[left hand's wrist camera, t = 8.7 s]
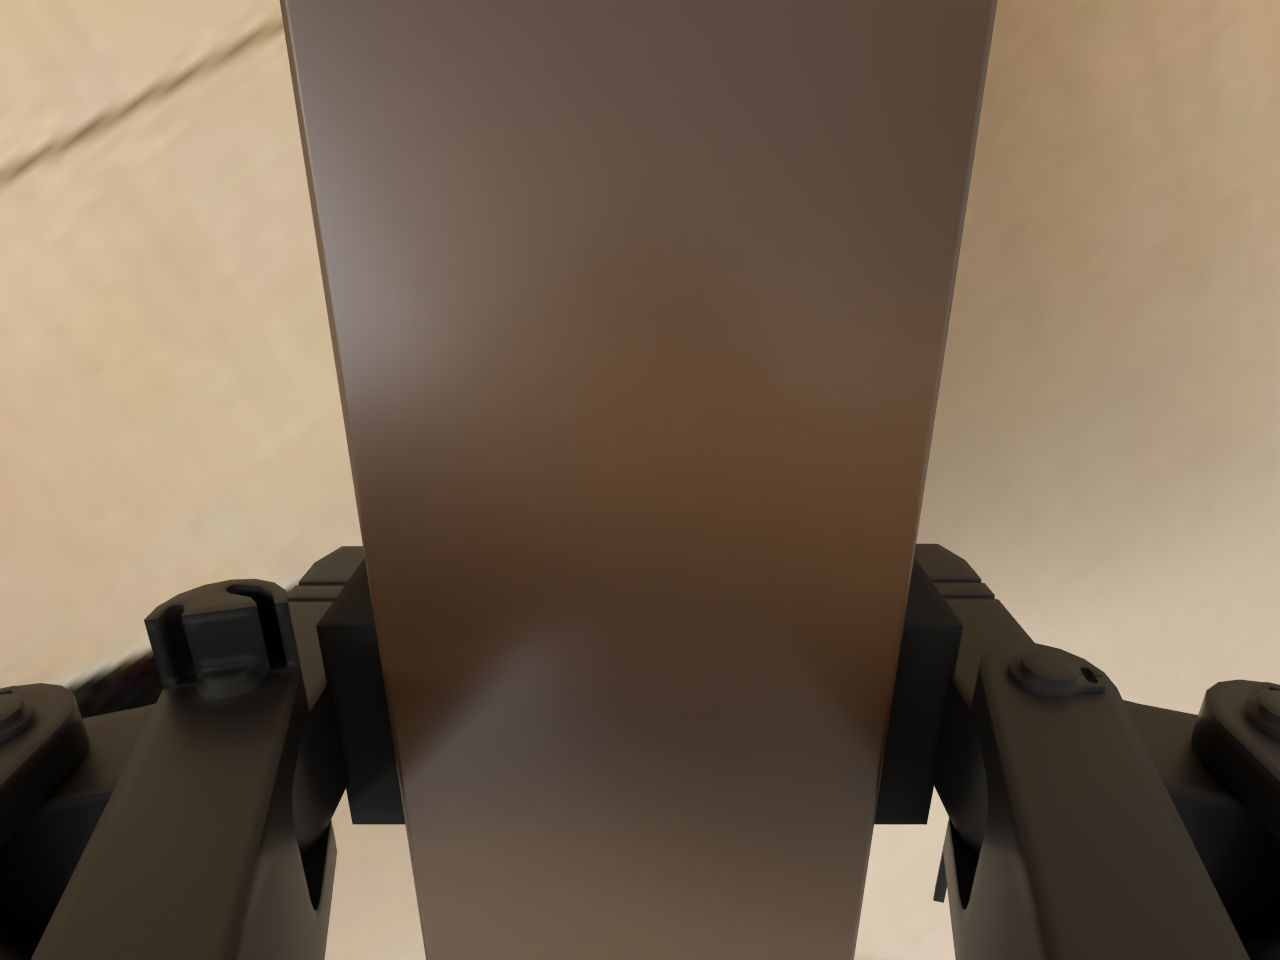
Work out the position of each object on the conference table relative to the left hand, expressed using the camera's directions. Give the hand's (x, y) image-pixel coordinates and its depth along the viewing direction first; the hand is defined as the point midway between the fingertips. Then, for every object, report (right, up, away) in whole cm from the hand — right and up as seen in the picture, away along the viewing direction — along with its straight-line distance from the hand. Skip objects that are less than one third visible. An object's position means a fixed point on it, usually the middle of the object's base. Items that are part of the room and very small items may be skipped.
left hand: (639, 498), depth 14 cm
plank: (0, +26, -10) cm, 28 cm away
